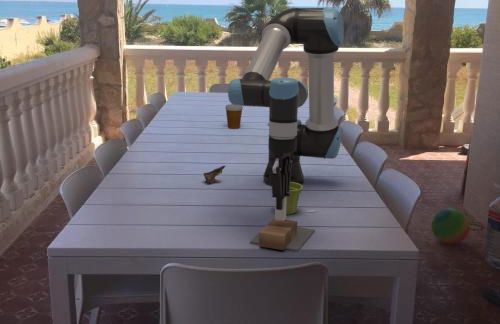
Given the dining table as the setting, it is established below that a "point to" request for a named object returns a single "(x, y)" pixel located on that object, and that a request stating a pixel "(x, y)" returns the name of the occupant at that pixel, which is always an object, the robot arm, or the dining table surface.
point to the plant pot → (293, 197)
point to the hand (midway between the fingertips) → (280, 219)
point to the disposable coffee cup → (233, 115)
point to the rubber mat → (297, 242)
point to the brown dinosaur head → (213, 175)
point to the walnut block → (278, 234)
